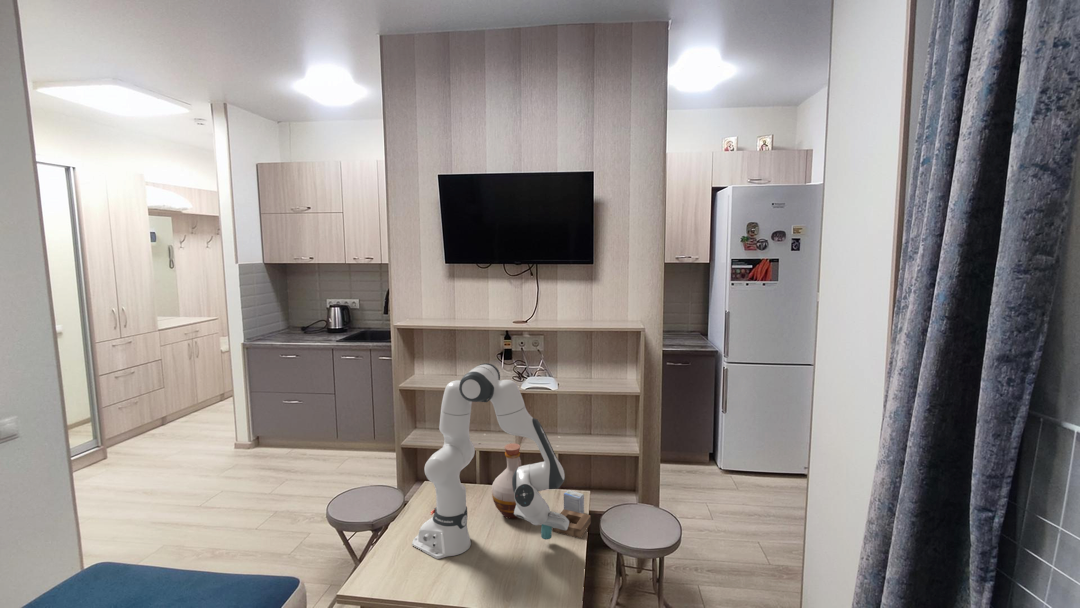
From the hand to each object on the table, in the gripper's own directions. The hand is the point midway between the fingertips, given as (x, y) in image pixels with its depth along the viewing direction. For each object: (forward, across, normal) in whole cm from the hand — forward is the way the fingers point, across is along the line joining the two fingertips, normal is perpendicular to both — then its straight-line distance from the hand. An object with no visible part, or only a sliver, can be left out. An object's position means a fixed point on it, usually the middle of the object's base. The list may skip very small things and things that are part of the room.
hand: (547, 523), depth 180 cm
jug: (+16, +22, -4) cm, 28 cm away
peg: (+3, 0, +4) cm, 5 cm away
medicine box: (+24, -1, -13) cm, 27 cm away
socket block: (+16, -5, -5) cm, 17 cm away
